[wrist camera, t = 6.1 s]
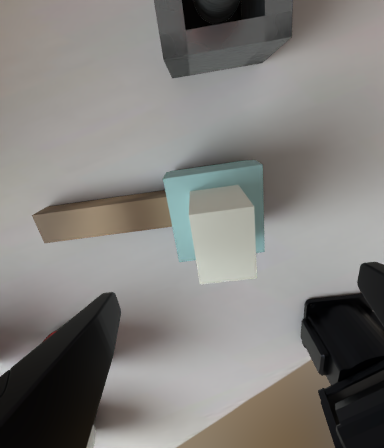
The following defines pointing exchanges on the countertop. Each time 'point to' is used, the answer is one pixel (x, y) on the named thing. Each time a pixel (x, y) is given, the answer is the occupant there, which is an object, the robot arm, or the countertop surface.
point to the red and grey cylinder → (216, 10)
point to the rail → (103, 217)
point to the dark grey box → (222, 37)
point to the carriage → (218, 218)
